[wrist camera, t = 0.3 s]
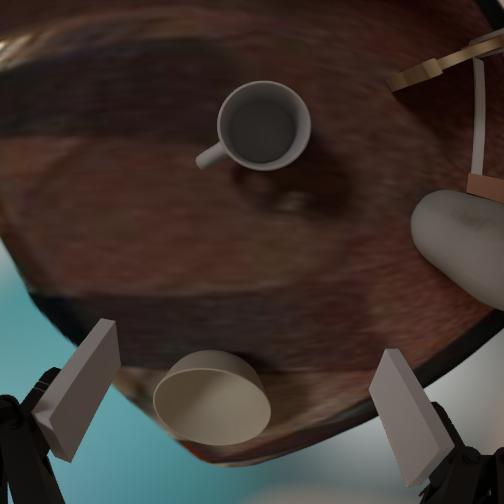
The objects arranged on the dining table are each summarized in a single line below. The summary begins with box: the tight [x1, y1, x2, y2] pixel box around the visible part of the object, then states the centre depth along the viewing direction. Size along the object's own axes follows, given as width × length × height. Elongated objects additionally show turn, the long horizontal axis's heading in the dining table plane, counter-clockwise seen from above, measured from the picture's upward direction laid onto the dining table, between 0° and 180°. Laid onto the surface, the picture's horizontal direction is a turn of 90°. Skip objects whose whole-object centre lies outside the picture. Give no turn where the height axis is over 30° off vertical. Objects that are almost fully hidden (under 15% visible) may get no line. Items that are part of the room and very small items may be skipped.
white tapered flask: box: [411, 190, 504, 311], centre depth 26 cm, size 10×10×28 cm
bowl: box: [153, 350, 271, 445], centre depth 42 cm, size 16×16×10 cm
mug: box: [196, 81, 311, 171], centre depth 31 cm, size 12×8×11 cm
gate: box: [385, 33, 504, 92], centre depth 27 cm, size 18×2×10 cm, turn 122°
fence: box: [466, 28, 504, 203], centre depth 28 cm, size 26×3×12 cm, turn 177°
